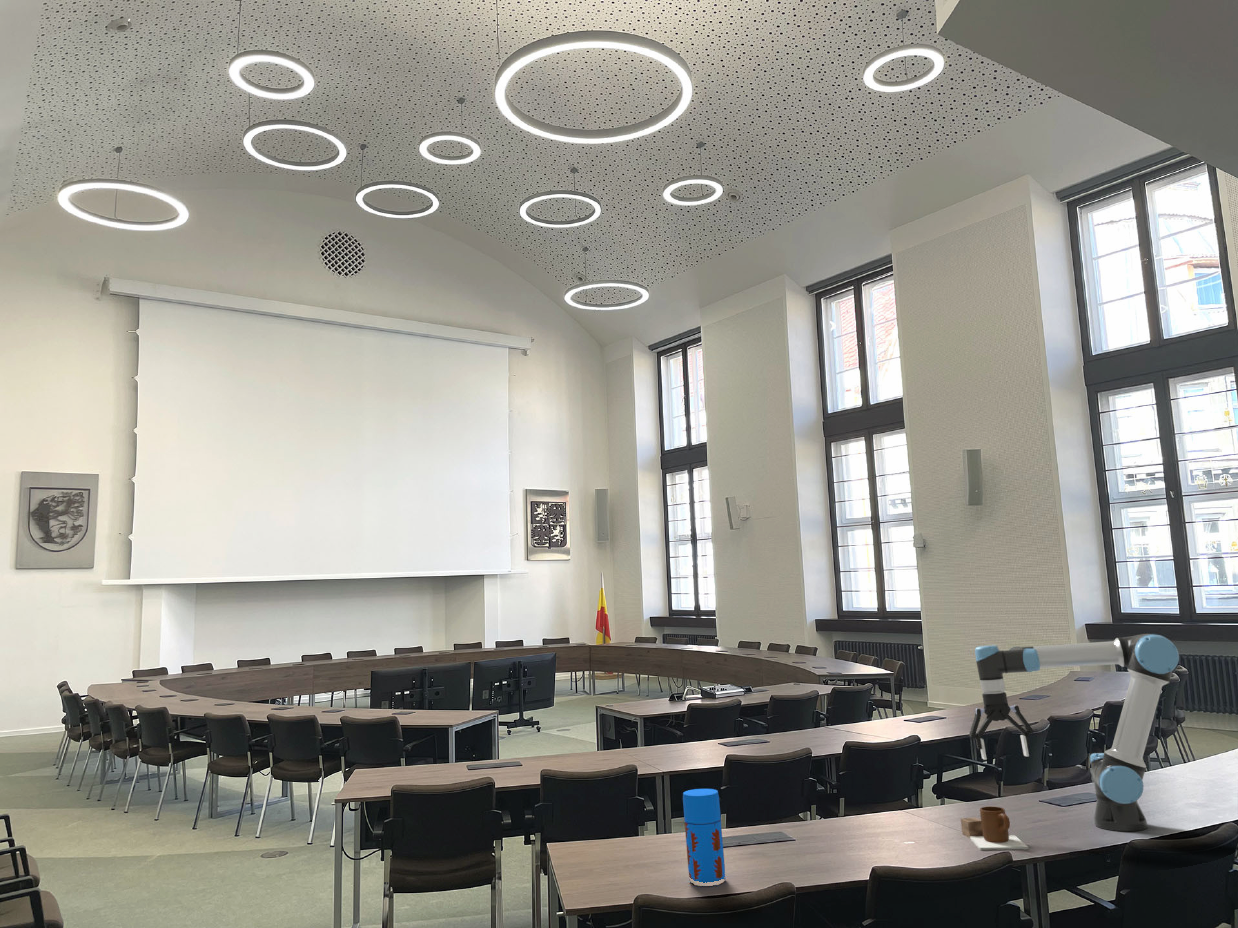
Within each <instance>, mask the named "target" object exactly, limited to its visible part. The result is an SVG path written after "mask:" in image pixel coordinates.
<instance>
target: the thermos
mask: <svg viewBox="0 0 1238 928" xmlns="http://www.w3.org/2000/svg"><path fill="white" fill-rule="evenodd" d="M718 791H719V790H717V789H714V788H694V789H689V790H686V791H684V792H683V793H682V803H683V805H682V806H683V818H684V830H685V843H686V845H685V846H686V856H687V869H688V876H689V877H690V878H691V879H693V880H694V881H699V882H703V883H705V882H706V883H707V882H714V881H719V880H721V879H724V877H725V878H726V866H725V855H724V854H725V853H724V843H723V842H724V841H723V830H722V829H723V828H722V819H721V807H720V796H719V792H718ZM689 877H688V878H689Z"/></svg>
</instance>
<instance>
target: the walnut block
mask: <svg viewBox="0 0 1238 928" xmlns="http://www.w3.org/2000/svg"><path fill="white" fill-rule="evenodd" d="M960 824H961V825H960V827H961V831H962V835H963V836H965V837H967V838H969V839H970V836H983V830H982V824H981V819H979V818H977V817H966V818H965V817H964V818H960Z"/></svg>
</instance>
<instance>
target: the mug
mask: <svg viewBox="0 0 1238 928" xmlns="http://www.w3.org/2000/svg"><path fill="white" fill-rule="evenodd" d="M979 817H980V820H981V824H982V830H983V837H984V839H985V840H986V841H989V842H995V843H1001V842H1007V841H1008V840H1009V835H1010V833H1009V829H1010V826H1011V824H1010V823H1011V822H1010V818H1009V815H1007V814H1006V810H1005V808H1004V807H1000V806H983V807H980V808H979Z"/></svg>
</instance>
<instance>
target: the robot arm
mask: <svg viewBox="0 0 1238 928" xmlns="http://www.w3.org/2000/svg"><path fill="white" fill-rule="evenodd" d="M974 653H975V661H976V667H977V673H978V678H979V683H980V689H981V692H983V693H982V694H981V695H982V701H983V708H977V707H976V708H974V718H973V721H972V724H971V727H970V730H969V733H968V736H969V737H970V738H972V739H975V742H976V743H975V744H976V748H977V749H978V750H980V754H981V759H983V761H987V759H988V758H987V754H986V753H987V752H986V746H985V741H984V738H982V737H983V735H984V734H985V733H986V731H987V729H988V728H989V726H990V724H991V723H992V722H993V721H994V722H999V721H1005V720H1006V721H1008V723H1009V724H1011V725H1012V726H1013V727H1014V728H1015V729H1017V730H1018V732H1020V733H1021V734H1020V736H1019V737H1020V741H1021V747H1022V753H1023V756H1024V757H1030V754H1029V748H1028V746H1030V744H1031V742H1030V737H1029V736H1030V734H1034V731H1035V730H1033V728H1032V727H1031V725H1030V724H1029V722H1028V721H1027V720H1026V718H1025V717H1024V715H1023V714H1022V713H1021V710H1020V706H1018V705H1016V704H1013V705H1011V706H1010V705H1009V703H1008V696H1007V693H1006V692H1005V691H1006V684H1005V681H1004V675H1003V674H1011V673H1012V674H1014V673H1032V672H1038V671H1040V670H1041V669H1049V668H1051V669H1052V668H1070V667H1072V668H1073V667H1083V666H1084V667H1089V666H1090V667H1091V666H1106V665H1109V666H1111V665H1119V666H1120V667H1122V668H1124V667H1125V668H1126V667H1127V671H1128V673H1129V675H1130V680H1129V684H1128V688H1127V691H1126V695H1125V698H1124V703H1123V706H1122V710H1121V713H1120V716H1119V720H1118V723H1117V727H1116V732H1115V733H1114V739H1113V741H1112V742H1113V743H1112V746H1111V748H1110V749H1107V750H1105V751H1104V752H1097V753H1096V752H1094V753H1091V754H1090V757H1089V759H1090V762H1089V764H1090V765H1091V773H1092V778H1093V784H1094V791H1095V796H1096V804H1095V810H1094V815H1093V821H1094V825H1095V826H1096V827H1098V828H1100V829H1104V830H1110V831H1117V832H1138V831H1142V830H1143V831H1144V830H1146V829H1148V821H1147V818H1146V817H1145V814H1144V813H1143V810H1142V808H1141V806H1140V805H1139V803H1138V800H1139V799H1140V798H1141V797H1142V796H1143V793H1144V781H1143V780H1144V776H1145V773H1146V768H1147V765H1146V763H1145V762H1144V759H1143V758H1144V753H1145V751H1146V747H1147V743H1148V739H1149V735H1150V732H1151V728H1152V726H1153V725H1152V724H1153V721H1154V718H1155V714H1156V710H1157V707H1158V703H1159V699H1160V696H1161V692H1162V687H1164V686H1165V685H1167V684H1170V681H1171V678H1172V673H1173V671H1174V670H1175V669H1176V667H1177V666H1178V664H1179V661H1180V655H1179V654H1180V653H1179V650H1178V648H1177V646H1176V645H1175V644H1174V643H1173V642H1172V641H1171V640H1170V639H1169V638H1167V637H1165V636H1163V635H1161V634H1156V633H1141V634H1137V635H1132V636H1131V635H1130V636H1125V637H1124V636H1123V637H1116V638H1115V639H1114V640H1111V641H1100V642H1099V641H1096V642H1082V643H1065V644H1051V645H1050V644H1049V645H1048V644H1047V645H1036V646H1034V645H1033V646H1013V647H1011V648H1010V649H1009V650H1007V649H1006V650H1000V649H999V648H998V646H997V645H994V644H992V645H981V646H980V645H979V646H976V647H975V649H974ZM1011 712H1013V713H1014V715H1015V716H1016V717H1017V719H1018V720H1019V721H1020V723H1021V724H1022V726H1023V727H1022V726H1021V725H1020V724H1019V723H1018V722H1017V721H1015V719H1014V718H1013V717H1012V716H1011V715H1010V713H1011ZM983 713H984V714H985V715H986V716H985V718H984V721H983V722H982V724H981V725H980V721H981V717H982V716H983ZM979 725H980V727H979ZM978 728H979V729H978Z"/></svg>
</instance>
